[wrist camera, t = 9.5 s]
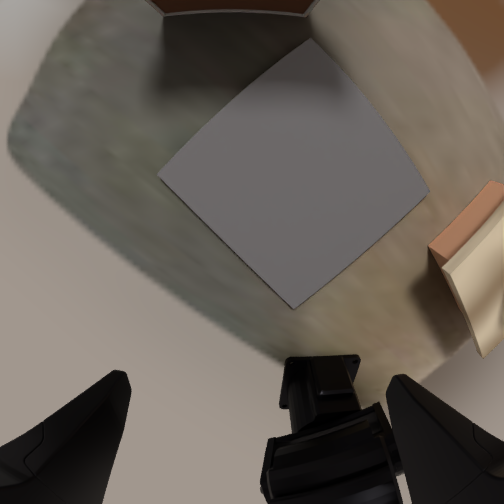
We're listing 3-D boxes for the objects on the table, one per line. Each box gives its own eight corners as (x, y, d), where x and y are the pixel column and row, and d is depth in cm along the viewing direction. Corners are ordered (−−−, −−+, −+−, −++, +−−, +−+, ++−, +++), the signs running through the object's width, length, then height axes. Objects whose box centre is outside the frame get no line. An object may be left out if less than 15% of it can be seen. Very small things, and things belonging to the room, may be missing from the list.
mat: (426, 189, 18) (430, 191, 17) (292, 304, 21) (293, 309, 21) (308, 40, 15) (310, 37, 14) (159, 173, 18) (156, 174, 17)
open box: (513, 250, 20) (542, 269, 16) (459, 309, 22) (485, 336, 18) (490, 180, 18) (526, 191, 13) (427, 245, 20) (460, 269, 15)
